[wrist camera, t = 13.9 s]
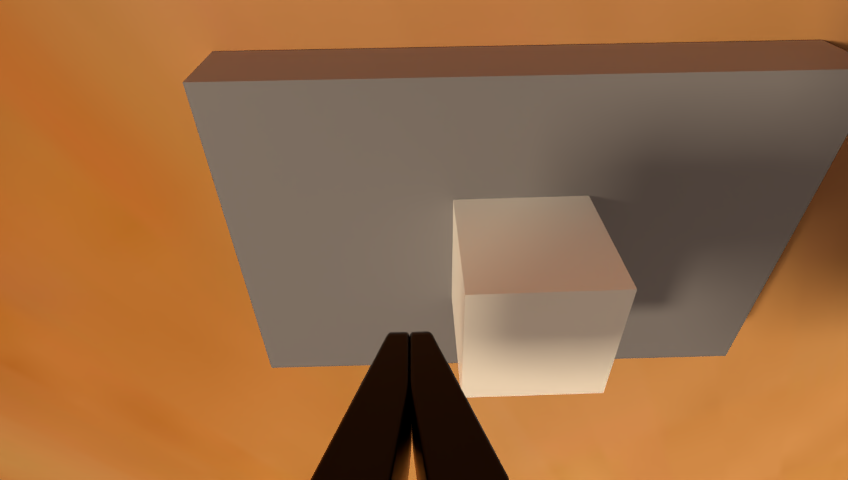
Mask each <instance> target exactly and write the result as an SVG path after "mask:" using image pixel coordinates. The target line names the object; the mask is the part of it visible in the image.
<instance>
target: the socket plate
mask: <svg viewBox="0 0 848 480" xmlns="http://www.w3.org/2000/svg"><path fill="white" fill-rule="evenodd" d="M183 85H184V88H185V91H186V94H187V98H188V101H189V104H190V107H191V110H192V114H193V117H194V120H195V123H196V126H197V130H198V133H199V136H200V139H201V142H202V146H203V149H204V152H205V155H206V158H207V162H208V165H209V168H210V171H211V174H212V178H213V181H214V184H215V187H216V191H217V194H218V197H219V200H220V203H221V207H222V210H223V213H224V216H225V219H226V223H227V226H228V229H229V232H230V235H231V239H232V242H233V245H234V248H235V251H236V255H237V258H238V261H239V264H240V267H241V271H242V274H243V277H244V280H245V284H246V287H247V290H248V293H249V296H250V300H251V303H252V306H253V309H254V312H255V316H256V319H257V322H258V325H259V328H260V332H261V335H262V338H263V341H264V344H265V348H266V351H267V354H268V357H269V360H270V364H271V367H272V368H277V367H315V366H353V365H371V364H372V362H373V360H374V359H375V357H376V355H377V353H378V351H379V349H380V347H381V345H382V343H383V341H384V340H385V338H386V336H387V335H388V334H389V333H390V332H407V333H409V335H410V334H411V333H412V332H419V331H429V332H431V333H432V334H433V336H434V338H435V340H436V342H437V344H438V346H439V347H440V349H441V351H442V353H443V355H444V357H445V359H446V361H447V363H458V359H457V348H456V337H455V327H454V316H453V306H452V249H453V200H463V199H495V198H527V197H559V196H589V197H590V199H591V201H592V203H593V205H594V207H595V209H596V210H597V212H598V214H599V216H600V218H601V220H602V222H603V224H604V226H605V228H606V230H607V232H608V234H609V236H610V238H611V240H612V242H613V243H614V245H615V247H616V249H617V251H618V253H619V255H620V257H621V259H622V261H623V263H624V265H625V267H626V269H627V271H628V273H629V275H630V276H631V278H632V280H633V282H634V284H635V286H636V288H637V292H636V295H635V298H634V301H633V304H632V307H631V310H630V313H629V316H628V319H627V322H626V325H625V328H624V331H623V334H622V337H621V340H620V343H619V346H618V350H617V353H616V356H615V359H620V358H658V357H696V356H726V354H727V352H728V350H729V349H730V347H731V345H732V343H733V341H734V339H735V338H736V336H737V334H738V332H739V330H740V329H741V327H742V325H743V323H744V321H745V320H746V318H747V316H748V314H749V312H750V310H751V309H752V307H753V305H754V303H755V301H756V300H757V298H758V296H759V294H760V292H761V291H762V289H763V287H764V285H765V283H766V281H767V280H768V278H769V276H770V274H771V272H772V271H773V269H774V267H775V265H776V263H777V262H778V260H779V258H780V256H781V254H782V252H783V251H784V249H785V247H786V245H787V243H788V242H789V240H790V238H791V236H792V234H793V233H794V231H795V229H796V227H797V225H798V223H799V222H800V220H801V218H802V216H803V214H804V213H805V211H806V209H807V207H808V205H809V204H810V202H811V200H812V198H813V196H814V194H815V193H816V191H817V189H818V187H819V185H820V184H821V182H822V180H823V178H824V176H825V174H826V173H827V171H828V169H829V167H830V165H831V164H832V162H833V160H834V158H835V156H836V155H837V153H838V151H839V149H840V147H841V145H842V144H843V142H844V140H845V138H846V136H847V135H848V52H847V51H845V50H843V49H841V48H839V47H837V46H834V45H832V44H830V43H828V42H826V41H824V40H789V41H736V42H683V43H631V44H578V45H526V46H473V47H420V48H368V49H315V50H262V51H212V52H211V54H210V55H209V56H208V57H207V58H206V59H205V60H204V61H203V62H202V63H201V64H200V65H199V66H198V67H197V68H196V69H195V70H194V71H193V72H192V73H191V74H190V75H189V76H188V77H187V79H186V80H185V81H184V82H183Z"/></svg>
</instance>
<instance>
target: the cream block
mask: <svg viewBox="0 0 848 480" xmlns="http://www.w3.org/2000/svg"><path fill="white" fill-rule="evenodd" d="M636 292H637V288H636V286H635V284H634V282H633V280H632V278H631V276H630V275H629V273H628V271H627V269H626V267H625V265H624V263H623V261H622V259H621V257H620V255H619V253H618V251H617V249H616V247H615V245H614V243H613V242H612V240H611V238H610V236H609V234H608V232H607V230H606V228H605V226H604V224H603V222H602V220H601V218H600V216H599V214H598V212H597V210H596V209H595V207H594V205H593V203H592V201H591V199H590V197H589V196H559V197H527V198H495V199H463V200H453V249H452V306H453V316H454V327H455V337H456V348H457V359H458V369H459V380H460V387H461V389H462V391H463V393H464V395H465V396H466V397H495V396H525V395H555V394H585V393H603V392H604V389H605V386H606V383H607V380H608V377H609V374H610V371H611V368H612V365H613V362H614V359H615V356H616V353H617V350H618V346H619V343H620V340H621V337H622V334H623V331H624V328H625V325H626V322H627V319H628V316H629V313H630V310H631V307H632V304H633V301H634V298H635V295H636Z"/></svg>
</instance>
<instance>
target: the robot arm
mask: <svg viewBox="0 0 848 480" xmlns="http://www.w3.org/2000/svg"><path fill="white" fill-rule="evenodd" d="M412 443H413V453H414V461H415V468H416V476H417V480H509V478H508V476H507V474H506V472H505V470H504V468H503V466H502V464H501V463H500V461H499V459H498V457H497V455H496V453H495V451H494V449H493V447H492V446H491V444H490V442H489V440H488V438H487V436H486V434H485V432H484V430H483V429H482V427H481V425H480V423H479V421H478V419H477V417H476V415H475V413H474V412H473V410H472V408H471V406H470V404H469V402H468V400H467V398H466V396H465V395H464V393H463V391H462V389H461V387H460V385H459V383H458V381H457V380H456V378H455V376H454V374H453V372H452V370H451V368H450V366H449V364H448V363H447V361H446V359H445V357H444V355H443V353H442V351H441V349H440V347H439V346H438V344H437V342H436V340H435V338H434V336H433V334H432V333H431V332H429V331H419V332H412V333H411V334H410V335H409V333H407V332H390V333H389V334H388V335H387V336H386V338H385V340H384V341H383V343H382V345H381V347H380V349H379V351H378V353H377V355H376V357H375V359H374V360H373V362H372V364H371V366H370V368H369V370H368V372H367V374H366V376H365V378H364V379H363V381H362V383H361V385H360V387H359V389H358V391H357V393H356V395H355V397H354V398H353V400H352V402H351V404H350V406H349V408H348V410H347V412H346V414H345V415H344V417H343V419H342V421H341V423H340V425H339V427H338V429H337V431H336V433H335V434H334V436H333V438H332V440H331V442H330V444H329V446H328V448H327V450H326V452H325V453H324V455H323V457H322V459H321V461H320V463H319V465H318V467H317V469H316V471H315V472H314V474H313V476H312V478H311V480H408V475H409V466H410V457H411V444H412Z"/></svg>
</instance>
